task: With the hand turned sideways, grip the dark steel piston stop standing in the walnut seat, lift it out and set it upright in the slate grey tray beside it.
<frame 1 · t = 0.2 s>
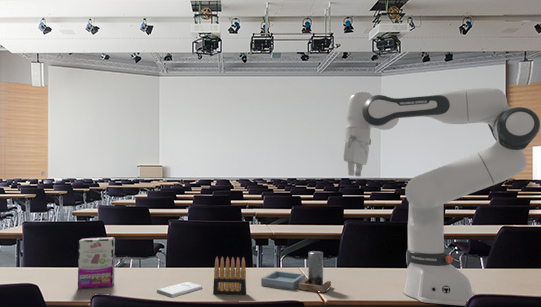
hand: (354, 176, 137), 39 cm above the table, tool pointing down, fingers open, 8 cm apart
external hard drive: (179, 292, 128), on the table
piston stop: (315, 270, 132), in the stop seat
ammunition clip: (229, 294, 124), on the table
candy bar box: (96, 286, 132), on the table
stop seat: (315, 287, 132), on the table
tray: (283, 283, 137), on the table
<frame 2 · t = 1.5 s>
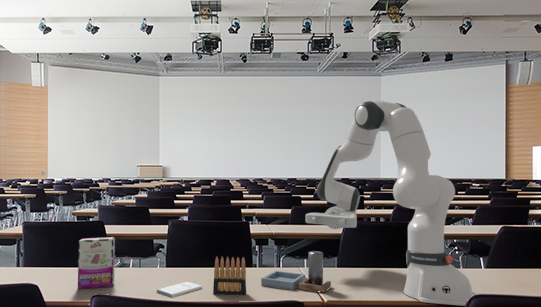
hand: (325, 222, 145), 21 cm above the table, tool horizontal, fingers open, 8 cm apart
nothing on the table moved.
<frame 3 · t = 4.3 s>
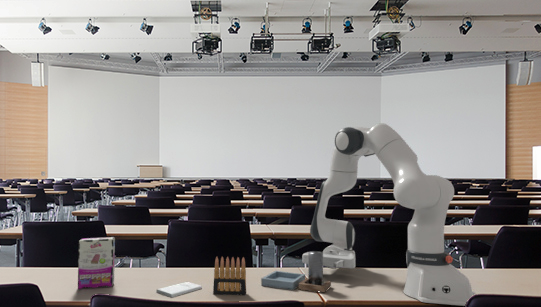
hand: (322, 264, 139), 6 cm above the table, tool horizontal, fingers open, 8 cm apart
nothing on the table moved.
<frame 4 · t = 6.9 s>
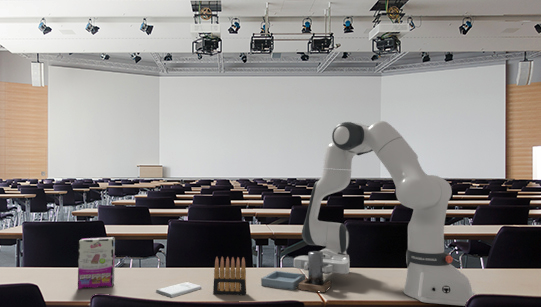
hand: (314, 269, 131), 7 cm above the table, tool horizontal, fingers closed on piston stop, 5 cm apart
piston stop: (315, 270, 132), in the stop seat, touching gripper
everything else where it was.
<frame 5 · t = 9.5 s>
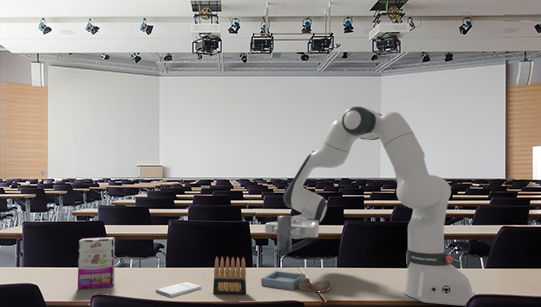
hand: (283, 231, 137), 18 cm above the table, tool horizontal, fingers closed on piston stop, 5 cm apart
piston stop: (284, 232, 138), point 18 cm above the table, touching gripper
everything else where it was.
when the fingers open (8 cm above the table, at t = 12.2 s): piston stop stays where it is, resting on tray.
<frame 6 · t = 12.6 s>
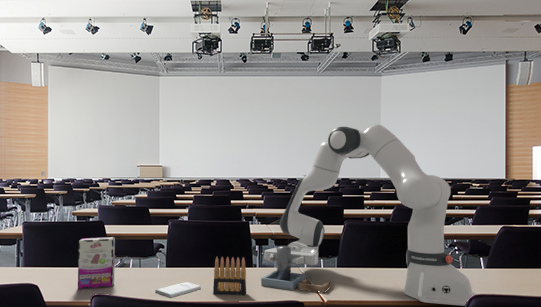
hand: (282, 260, 137), 8 cm above the table, tool horizontal, fingers open, 8 cm apart
piston stop: (283, 264, 137), in the tray, point 7 cm above the table
everything else where it was.
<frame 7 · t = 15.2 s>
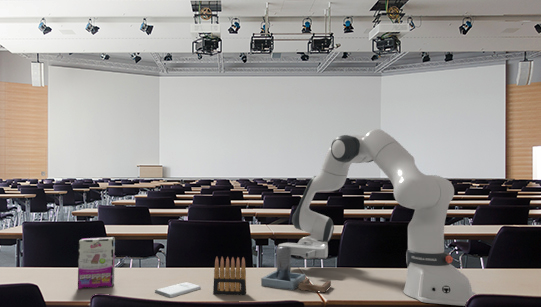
hand: (295, 253, 148), 8 cm above the table, tool horizontal, fingers open, 8 cm apart
nothing on the table moved.
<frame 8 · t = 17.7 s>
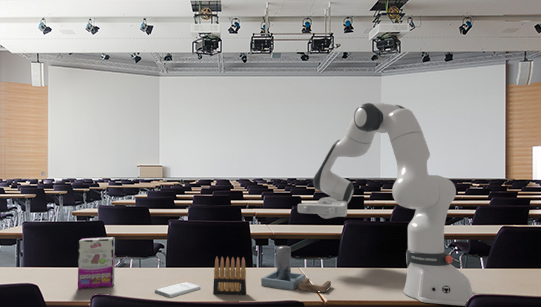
hand: (316, 210, 150), 25 cm above the table, tool horizontal, fingers open, 8 cm apart
nothing on the table moved.
at the end: piston stop 0.1 cm off-centre on the tray, point 6.8 cm above the tray's base; piston stop tilted 0°; the gripper is holding nothing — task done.
